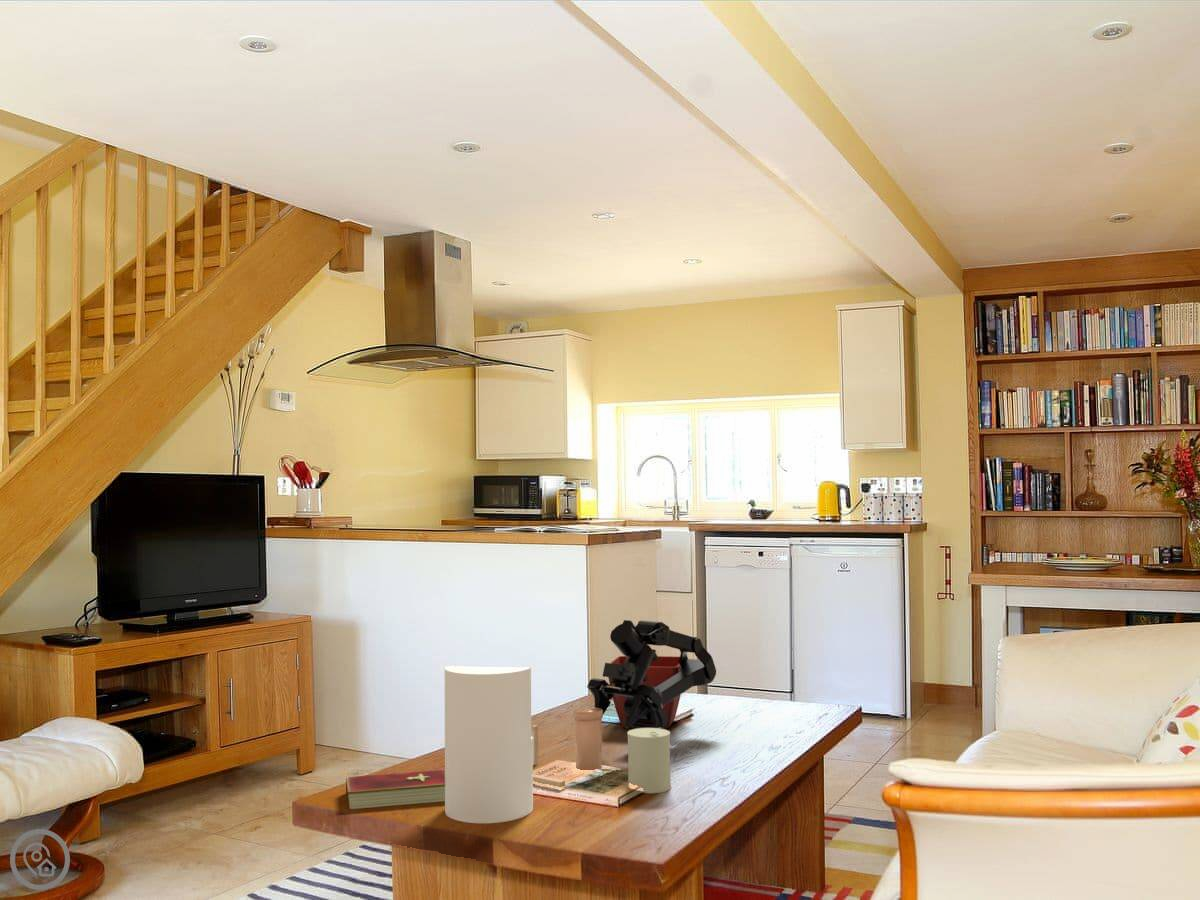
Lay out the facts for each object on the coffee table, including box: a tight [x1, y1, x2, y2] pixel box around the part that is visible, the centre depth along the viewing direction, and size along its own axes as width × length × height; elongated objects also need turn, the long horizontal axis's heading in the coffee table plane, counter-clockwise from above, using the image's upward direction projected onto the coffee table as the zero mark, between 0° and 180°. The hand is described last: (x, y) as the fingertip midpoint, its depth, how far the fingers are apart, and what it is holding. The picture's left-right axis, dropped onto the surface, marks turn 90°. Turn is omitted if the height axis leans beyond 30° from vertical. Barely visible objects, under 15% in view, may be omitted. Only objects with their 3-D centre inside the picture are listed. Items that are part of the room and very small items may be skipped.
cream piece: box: [531, 724, 621, 787], centre depth 232 cm, size 21×19×9 cm
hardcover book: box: [345, 768, 445, 810], centre depth 215 cm, size 12×21×4 cm, turn 105°
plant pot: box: [607, 655, 681, 729], centre depth 282 cm, size 19×19×17 cm
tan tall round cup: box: [573, 707, 604, 770], centre depth 235 cm, size 7×7×13 cm
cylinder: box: [444, 665, 534, 824], centre depth 206 cm, size 17×17×28 cm
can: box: [626, 728, 672, 794], centre depth 221 cm, size 9×9×12 cm
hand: (610, 724), depth 242 cm, fingers open, 9 cm apart
